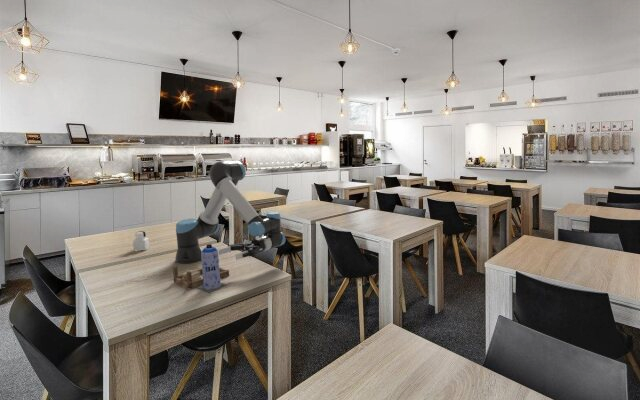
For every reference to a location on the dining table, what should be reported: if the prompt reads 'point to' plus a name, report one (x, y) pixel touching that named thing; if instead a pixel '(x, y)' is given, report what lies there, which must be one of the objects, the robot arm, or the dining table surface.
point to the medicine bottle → (141, 241)
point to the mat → (211, 289)
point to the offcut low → (192, 280)
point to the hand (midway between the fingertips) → (227, 254)
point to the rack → (189, 283)
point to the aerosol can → (210, 267)
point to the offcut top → (192, 274)
